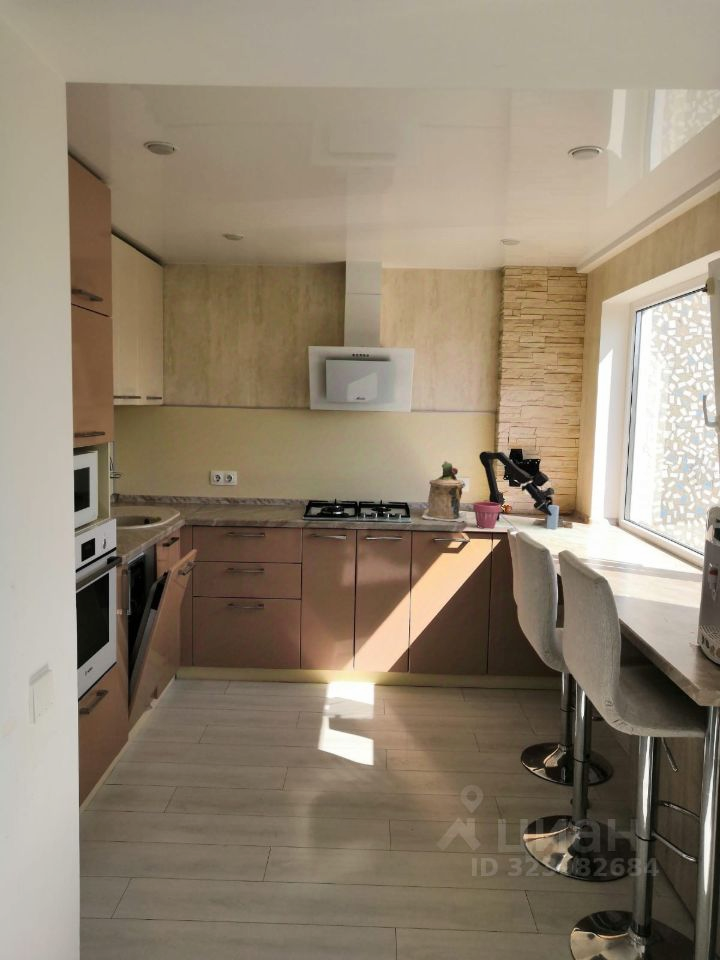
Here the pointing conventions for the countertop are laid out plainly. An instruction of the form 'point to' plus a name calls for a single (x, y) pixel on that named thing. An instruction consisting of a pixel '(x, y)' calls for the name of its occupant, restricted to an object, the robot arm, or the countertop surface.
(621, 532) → the countertop surface
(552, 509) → the block
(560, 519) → the jig cradle
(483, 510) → the plant pot
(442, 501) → the cookie jar
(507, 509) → the toy helicopter
